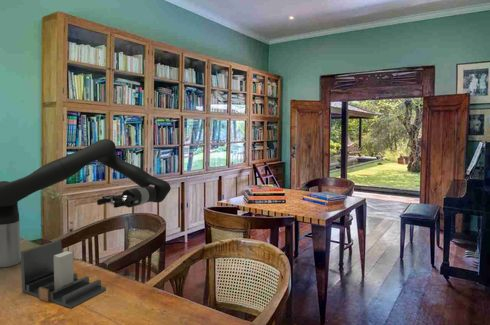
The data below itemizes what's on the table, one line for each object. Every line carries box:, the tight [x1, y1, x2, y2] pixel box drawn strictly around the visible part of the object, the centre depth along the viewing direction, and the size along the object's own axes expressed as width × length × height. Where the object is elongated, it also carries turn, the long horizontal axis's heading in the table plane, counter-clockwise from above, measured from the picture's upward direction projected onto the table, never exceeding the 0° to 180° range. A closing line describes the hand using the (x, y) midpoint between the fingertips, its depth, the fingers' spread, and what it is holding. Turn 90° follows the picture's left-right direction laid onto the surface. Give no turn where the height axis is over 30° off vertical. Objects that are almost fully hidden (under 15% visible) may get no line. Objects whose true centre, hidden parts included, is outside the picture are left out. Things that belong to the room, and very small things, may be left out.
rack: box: [20, 239, 107, 309], centre depth 119 cm, size 23×15×14 cm, turn 65°
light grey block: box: [54, 250, 74, 290], centre depth 119 cm, size 3×5×12 cm, turn 155°
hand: (105, 203), depth 135 cm, fingers open, 8 cm apart
